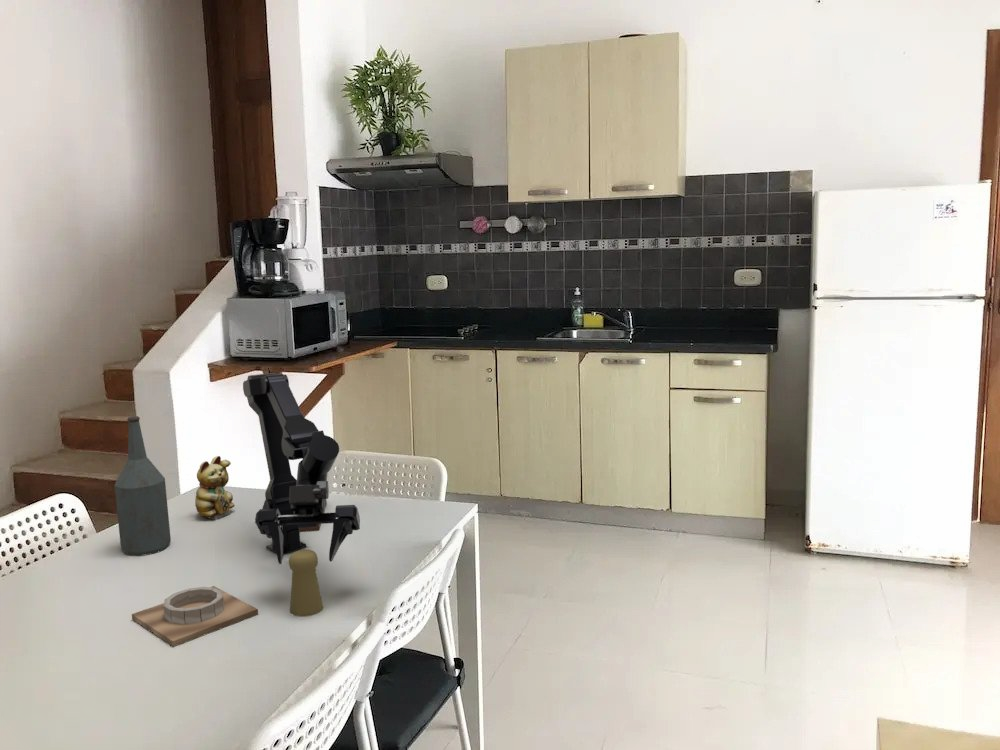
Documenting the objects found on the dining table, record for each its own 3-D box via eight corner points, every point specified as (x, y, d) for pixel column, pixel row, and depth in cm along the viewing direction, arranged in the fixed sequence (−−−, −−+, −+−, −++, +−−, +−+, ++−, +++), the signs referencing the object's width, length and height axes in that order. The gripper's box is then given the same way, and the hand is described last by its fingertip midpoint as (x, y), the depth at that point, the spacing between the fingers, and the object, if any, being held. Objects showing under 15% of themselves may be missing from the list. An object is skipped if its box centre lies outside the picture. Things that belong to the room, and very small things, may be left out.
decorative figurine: (214, 523, 203) (208, 463, 200) (186, 520, 206) (181, 460, 203) (239, 510, 212) (235, 453, 209) (213, 508, 215) (208, 451, 212)
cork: (315, 617, 150) (311, 559, 149) (284, 615, 152) (279, 557, 150) (328, 602, 156) (324, 546, 154) (298, 600, 157) (294, 545, 156)
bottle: (122, 559, 181) (108, 423, 176) (120, 545, 190) (106, 415, 185) (173, 550, 186) (161, 417, 181) (168, 536, 194) (156, 410, 189)
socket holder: (132, 619, 152) (130, 601, 151) (214, 590, 163) (212, 573, 163) (173, 646, 141) (171, 627, 140) (258, 614, 152) (256, 596, 152)
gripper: (253, 467, 156) (243, 545, 146) (354, 463, 157) (350, 540, 147) (265, 496, 165) (257, 571, 155) (361, 491, 166) (358, 566, 156)
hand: (305, 562), depth 153 cm, fingers open, 9 cm apart
